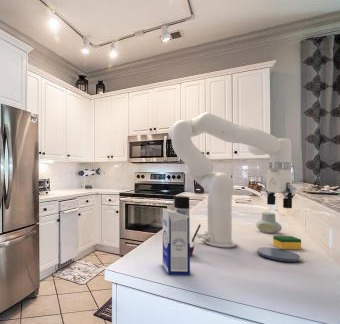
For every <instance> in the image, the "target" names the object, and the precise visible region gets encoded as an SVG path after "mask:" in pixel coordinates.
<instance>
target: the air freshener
mask: <svg viewBox="0 0 340 324" xmlns="http://www.w3.org/2000/svg"><path fill="white" fill-rule="evenodd" d="M255 226H256V228H257V229H258V230H259V231H260V232H263V233H264V234H278V233H280V232H282V229H283V228H282V225H281V224H280V223H279V222H278V221H276V213H274V212H267V211H263V212H261V220H258V221H257V222H256V224H255Z"/></svg>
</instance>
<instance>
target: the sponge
mask: <svg viewBox="0 0 340 324" xmlns="http://www.w3.org/2000/svg"><path fill="white" fill-rule="evenodd" d="M272 242H273V243H272V246H274V247H275V248H278V249H283V250H302V239H301V238H298V237H295V236H292V235H273V236H272Z"/></svg>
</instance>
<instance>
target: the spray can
mask: <svg viewBox="0 0 340 324" xmlns="http://www.w3.org/2000/svg"><path fill="white" fill-rule="evenodd" d="M173 200H174V201H173V203H174V204H173V211H177V209H180V210H183V211H186V213H185V215H187V216H188V217H190V197H189V196H183V195H175V196H174V199H173Z"/></svg>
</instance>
